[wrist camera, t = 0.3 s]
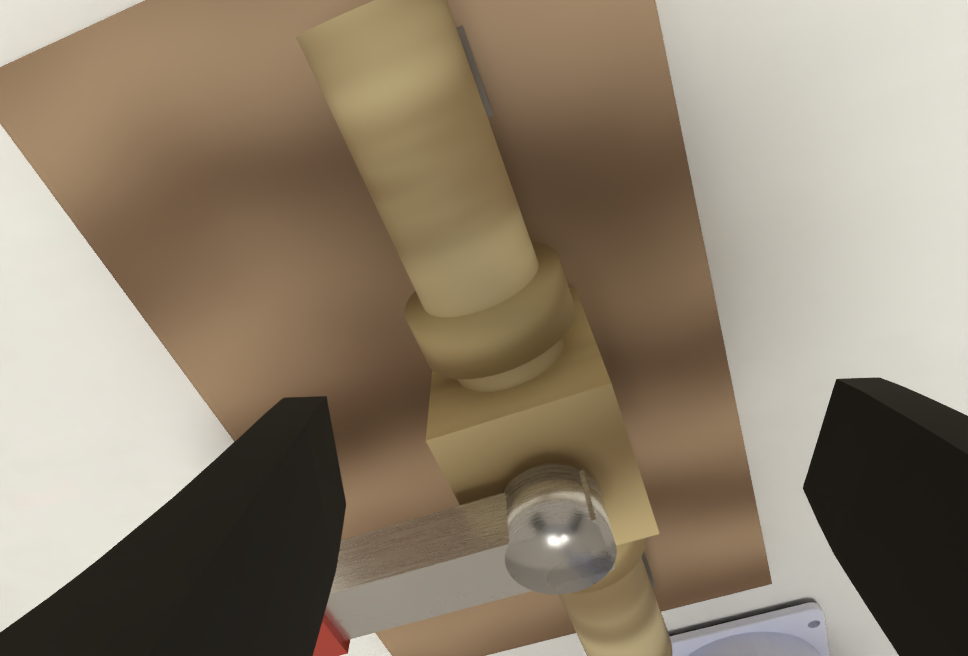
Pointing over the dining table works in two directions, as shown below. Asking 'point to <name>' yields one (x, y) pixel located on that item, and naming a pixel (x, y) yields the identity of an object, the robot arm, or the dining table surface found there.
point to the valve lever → (472, 556)
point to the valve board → (335, 286)
